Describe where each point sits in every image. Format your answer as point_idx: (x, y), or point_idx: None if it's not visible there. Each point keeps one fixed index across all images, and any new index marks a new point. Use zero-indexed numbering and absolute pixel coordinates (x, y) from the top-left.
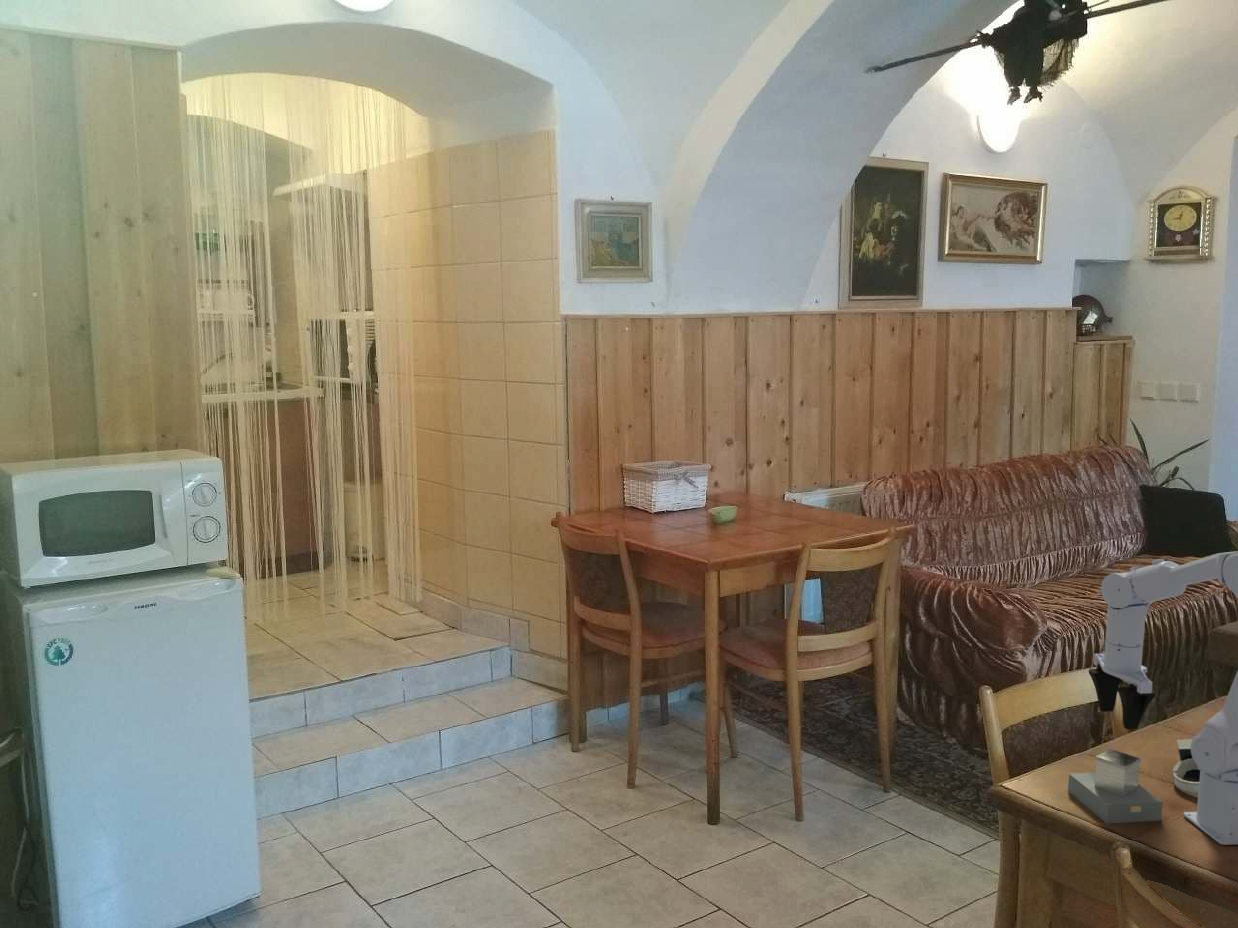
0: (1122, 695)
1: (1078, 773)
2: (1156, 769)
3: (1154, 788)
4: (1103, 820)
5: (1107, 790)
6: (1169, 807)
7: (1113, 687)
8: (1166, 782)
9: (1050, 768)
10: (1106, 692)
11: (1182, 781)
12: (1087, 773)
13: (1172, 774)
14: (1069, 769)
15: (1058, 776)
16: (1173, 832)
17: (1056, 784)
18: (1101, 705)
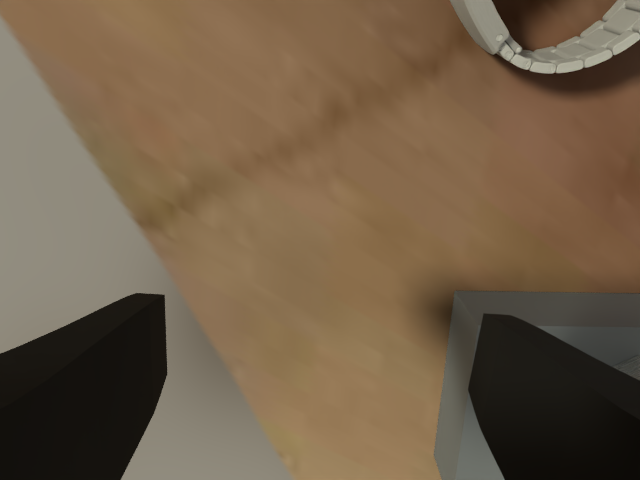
0: None
1: (456, 478)
2: (319, 17)
3: (486, 157)
4: None
5: None
6: (636, 204)
7: (54, 440)
8: (449, 65)
9: (262, 425)
10: (93, 463)
11: (582, 67)
12: (464, 450)
13: (491, 53)
14: (277, 371)
15: (327, 431)
16: None
17: (382, 463)
18: (152, 410)
